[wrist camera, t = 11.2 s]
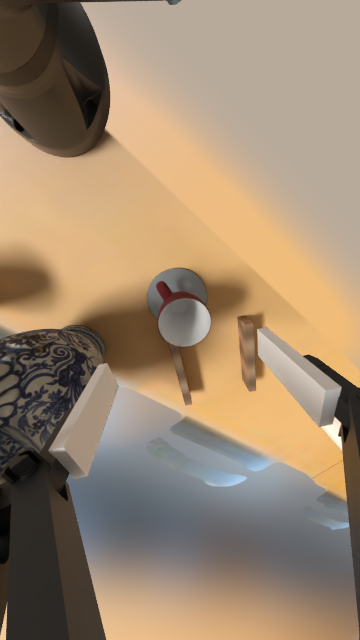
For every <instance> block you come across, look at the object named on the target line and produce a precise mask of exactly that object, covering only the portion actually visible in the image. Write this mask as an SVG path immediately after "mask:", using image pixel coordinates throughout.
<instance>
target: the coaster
mask: <svg viewBox="0 0 360 640" xmlns="http://www.w3.org/2000/svg"><path fill="white" fill-rule="evenodd" d="M159 281H164V282H165V283H166V284H167V285H168V287H169V288H170V290H171V291H172V292H173V293H174V292H179V291H183V292H188V293H190V294H193V295H195V296H197V297H198V298H199V299H201V300H202V301H203V303H204V304H205V305H206V302H207V292H206V288H205V286H204V284H203V282H202V280H201V279H200V278H199V277H198V276H197V275H196V274H194V273H193V272H191V271H189V270H186V269H182V268H173V269H168V270H166V271H163V272H162V273H160V274H159V275H158V276H156V277H155V279H154V280H153V281H152V283H151V285H150V287H149V289H148V294H147V302H148V307H149V309H150V311H151V313H152V314H153V316H154V317H155V318H156V319H157V320H158V314H159V310H160V308H161V305H162V304H163V302H164V300H163V299H162V297H161V296H160V294H159V293H158V291H157V289H156V284H157V283H158V282H159Z"/></svg>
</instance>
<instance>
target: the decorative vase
mask: <svg viewBox="0 0 360 640" xmlns="http://www.w3.org/2000/svg"><path fill="white" fill-rule="evenodd" d="M104 355H105V345H104V342H103V340H102V339H101V337H100V336H99V335H98V334H97V333H96V332H94V331H93V330H91V329H89V328H87V327H84V326H78V325H73V326H67V327H65V328H63V329H61V330H60V329H40V330H32V331H27V332H22V333H18V334H14V335H11V336H8V337H5V338H2V339H0V484H2V483H4V482H6V480H5V479H4V478H3V477H1V473H2V470H3V469H4V467H5V466H6V464H7V463H8V462H9V461H10V460H11V459H12V458H13V457H14V456H15V455H17V454H18V453H19V452H21V451H22V450H24V449H27V448H30V447H31V448H34V449H35V450H36V451H37V452H38V453H40V452H41V450H42V448H43V447H44V445H45V443H46V442H47V440H48V439H49V437H50V435H51V434H52V432H53V431H54V429H55V427H56V426H57V425H58V423H59V421H60V419H61V418H62V416H63V415H64V414H65V413H66V412H67V411H68V410H69V408H72V407H74V406H75V404H76V403H77V401H78V399H79V397H80V396H81V394H82V392H83V391H84V389H85V387H86V385H87V384H88V382H89V380H90V379H91V377H92V375H93V373H94V372H95V370H96V368H97V367H98V365H100V364H105V362H104V359H103V358H104Z"/></svg>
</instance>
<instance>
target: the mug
mask: <svg viewBox="0 0 360 640" xmlns="http://www.w3.org/2000/svg"><path fill="white" fill-rule="evenodd" d="M156 289H157V291H158V293H159V294H160V296H161V297H162V299H163V300H164V302H163V304H162V305H161V308H160V310H159V314H158V329H159V332H160V334H161V336H162V337H163V339H164V340H165V341H167V342H168V343H170V344H172V345H174V346H178V347H189V346H193V345H195V344H197V343H199V342H201V341H202V340H203V339H204V338H205V337H206V336H207V334H208V332H209V330H210V327H211V315H210V312H209V310H208V308H207V307H206V305H205V304H204V303H203V301H202V300H201V299H199V298H198V297H197V296H195V295H193V294H190V293H188V292H183V291H179V292H174V293H173V292H172V291H171V290H170V288H169V287H168V285H167V284H166V283H165V282H164V281H159V282H158V283H157V284H156Z"/></svg>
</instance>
